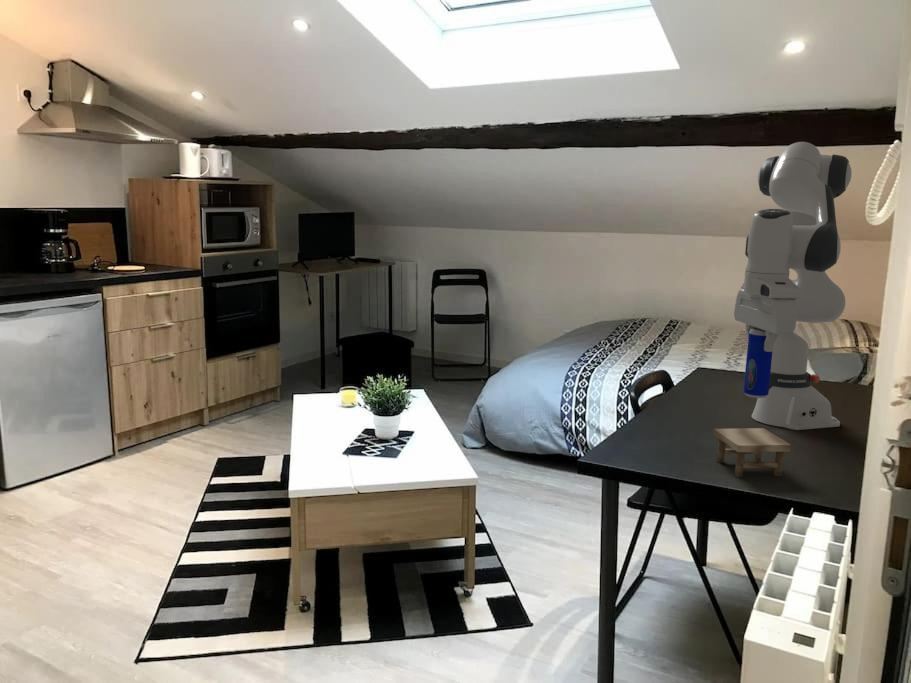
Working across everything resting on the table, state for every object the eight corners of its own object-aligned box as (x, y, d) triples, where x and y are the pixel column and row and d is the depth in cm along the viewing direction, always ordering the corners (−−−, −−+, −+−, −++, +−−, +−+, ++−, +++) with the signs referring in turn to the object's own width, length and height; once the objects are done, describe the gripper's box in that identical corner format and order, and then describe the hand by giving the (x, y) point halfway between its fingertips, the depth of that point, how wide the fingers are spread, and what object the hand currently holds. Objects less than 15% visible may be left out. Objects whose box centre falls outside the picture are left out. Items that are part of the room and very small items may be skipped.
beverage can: (739, 392, 167) (744, 327, 164) (760, 392, 167) (767, 327, 164) (750, 398, 162) (756, 331, 159) (772, 398, 162) (779, 331, 159)
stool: (760, 458, 174) (763, 428, 173) (787, 477, 162) (791, 444, 161) (711, 459, 173) (714, 428, 171) (735, 478, 161) (738, 445, 160)
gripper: (729, 280, 170) (724, 339, 172) (776, 291, 150) (769, 357, 152) (756, 280, 170) (750, 339, 173) (805, 291, 150) (798, 357, 153)
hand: (759, 348), depth 162 cm, fingers closed on beverage can, 5 cm apart
